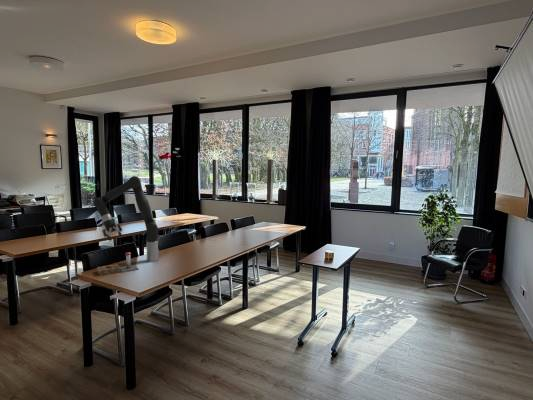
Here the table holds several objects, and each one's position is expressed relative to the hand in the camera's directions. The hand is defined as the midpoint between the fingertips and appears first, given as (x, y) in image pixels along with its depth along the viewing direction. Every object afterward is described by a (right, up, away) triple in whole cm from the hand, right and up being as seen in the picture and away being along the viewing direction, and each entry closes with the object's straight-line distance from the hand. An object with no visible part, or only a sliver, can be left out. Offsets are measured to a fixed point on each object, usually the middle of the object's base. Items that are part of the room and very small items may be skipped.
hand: (115, 238), depth 254 cm
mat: (+13, -23, -6) cm, 28 cm away
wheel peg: (+13, -22, -7) cm, 27 cm away
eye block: (+1, -24, -14) cm, 28 cm away
